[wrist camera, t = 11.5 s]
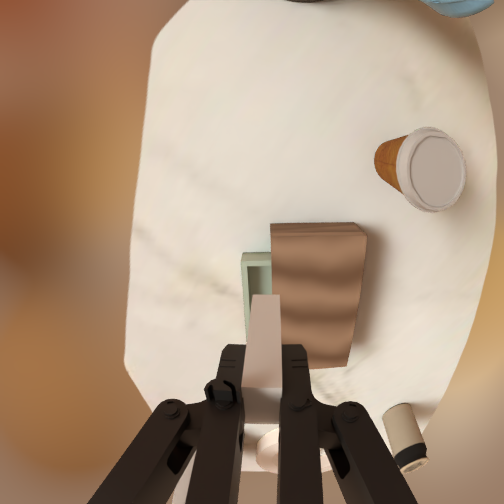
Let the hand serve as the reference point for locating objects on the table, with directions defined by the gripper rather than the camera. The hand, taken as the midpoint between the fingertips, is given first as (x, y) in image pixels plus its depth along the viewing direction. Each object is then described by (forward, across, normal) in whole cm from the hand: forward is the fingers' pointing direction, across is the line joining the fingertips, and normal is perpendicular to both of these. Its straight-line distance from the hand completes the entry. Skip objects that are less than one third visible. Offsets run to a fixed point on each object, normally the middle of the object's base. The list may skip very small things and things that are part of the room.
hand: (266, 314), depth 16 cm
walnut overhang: (+24, +6, -13) cm, 28 cm away
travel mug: (+23, +33, -51) cm, 65 cm away
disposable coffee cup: (+25, +18, +7) cm, 31 cm away
